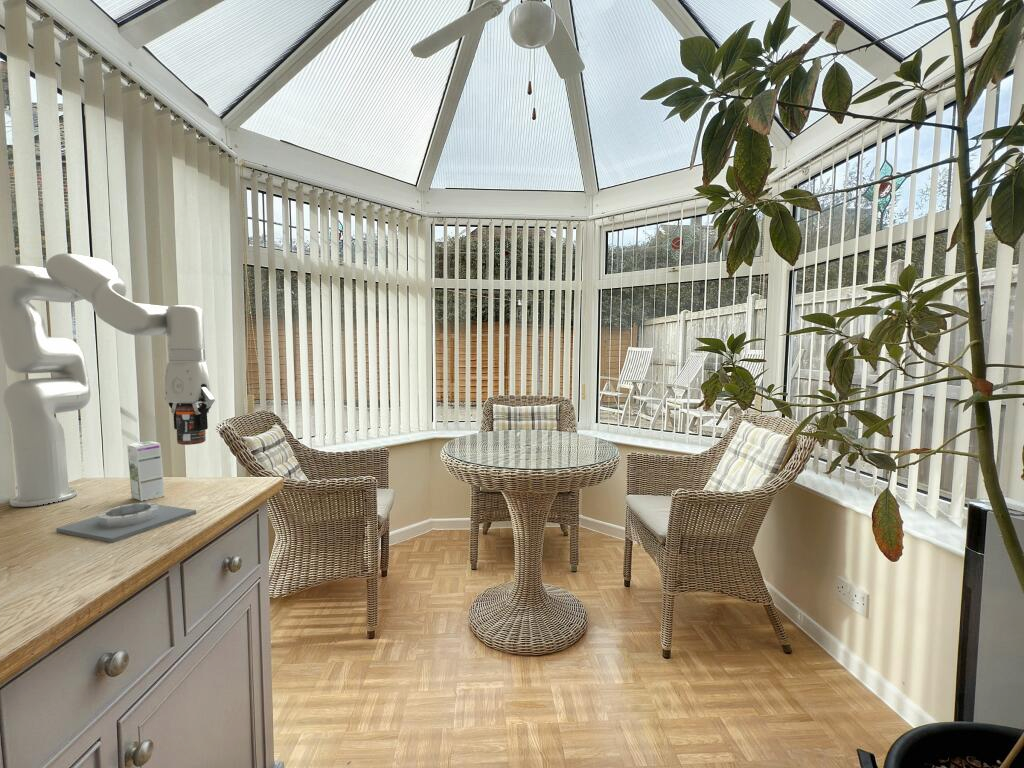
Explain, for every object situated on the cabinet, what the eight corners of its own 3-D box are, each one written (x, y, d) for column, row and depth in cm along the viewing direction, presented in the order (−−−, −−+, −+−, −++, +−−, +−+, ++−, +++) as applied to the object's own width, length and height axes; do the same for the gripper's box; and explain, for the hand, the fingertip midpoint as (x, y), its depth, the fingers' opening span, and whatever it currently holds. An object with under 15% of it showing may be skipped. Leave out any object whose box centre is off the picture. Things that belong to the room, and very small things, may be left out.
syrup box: (165, 496, 129) (162, 442, 128) (139, 502, 124) (135, 446, 123) (156, 492, 132) (152, 440, 131) (130, 498, 127) (126, 444, 126)
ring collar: (88, 524, 107) (87, 515, 107) (138, 508, 117) (137, 500, 116) (119, 529, 103) (119, 520, 103) (168, 513, 113) (168, 505, 113)
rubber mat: (56, 531, 105) (56, 528, 104) (143, 505, 121) (143, 502, 121) (112, 542, 99) (112, 538, 98) (196, 513, 115) (195, 510, 115)
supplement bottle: (192, 446, 117) (189, 399, 116) (171, 445, 118) (168, 398, 117) (211, 441, 123) (209, 396, 122) (191, 440, 124) (189, 396, 123)
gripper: (146, 356, 118) (151, 429, 120) (198, 357, 113) (202, 434, 114) (176, 356, 125) (180, 425, 127) (227, 356, 120) (230, 428, 121)
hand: (191, 428), depth 120 cm, fingers closed on supplement bottle, 6 cm apart
